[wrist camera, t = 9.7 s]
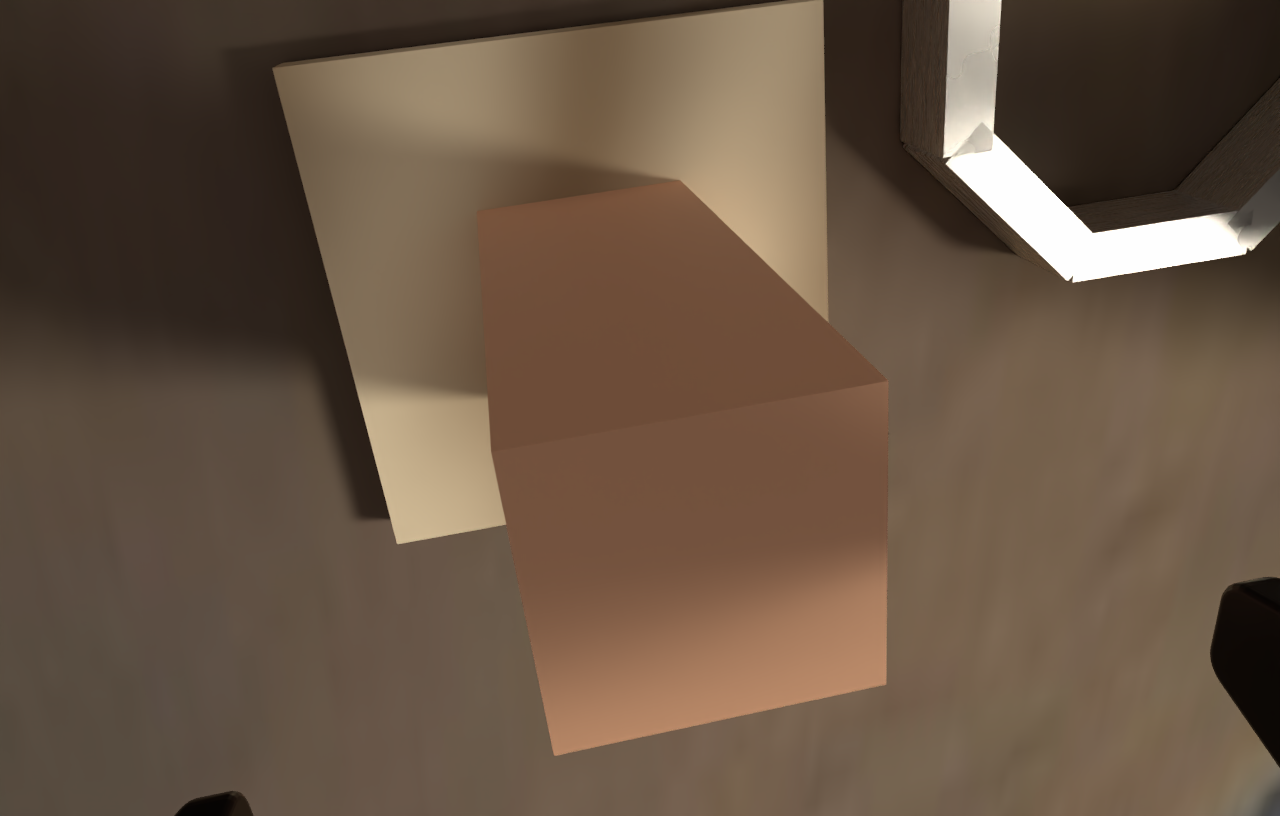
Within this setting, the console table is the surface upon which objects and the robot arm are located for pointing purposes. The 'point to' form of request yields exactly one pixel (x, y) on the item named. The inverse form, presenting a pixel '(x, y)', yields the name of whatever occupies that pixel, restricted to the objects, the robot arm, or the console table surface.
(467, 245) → the maple board
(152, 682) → the console table surface
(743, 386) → the peg
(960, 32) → the metal ring
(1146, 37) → the console table surface
